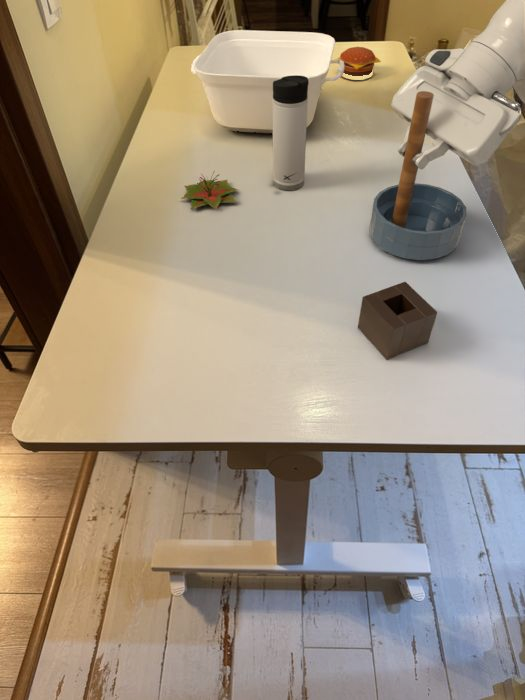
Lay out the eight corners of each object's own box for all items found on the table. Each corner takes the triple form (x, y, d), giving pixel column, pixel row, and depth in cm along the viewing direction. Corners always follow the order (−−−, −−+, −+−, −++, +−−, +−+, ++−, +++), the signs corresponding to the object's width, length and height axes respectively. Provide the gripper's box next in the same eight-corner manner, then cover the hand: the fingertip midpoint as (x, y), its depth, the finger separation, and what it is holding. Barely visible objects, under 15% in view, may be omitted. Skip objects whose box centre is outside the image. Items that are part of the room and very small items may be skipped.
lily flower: (175, 186, 104) (172, 164, 101) (233, 177, 106) (232, 156, 103) (184, 218, 96) (181, 196, 93) (247, 208, 98) (245, 186, 95)
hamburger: (355, 66, 146) (358, 40, 141) (380, 76, 141) (384, 49, 136) (330, 74, 142) (333, 47, 138) (355, 84, 137) (358, 57, 132)
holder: (398, 311, 78) (405, 281, 74) (428, 342, 74) (437, 312, 69) (357, 327, 76) (362, 296, 72) (386, 360, 72) (393, 329, 67)
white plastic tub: (343, 98, 131) (349, 33, 120) (334, 151, 112) (340, 80, 102) (213, 92, 136) (207, 28, 125) (183, 142, 117) (173, 72, 106)
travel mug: (291, 195, 101) (294, 87, 86) (266, 183, 104) (264, 78, 89) (311, 182, 104) (317, 76, 89) (286, 171, 107) (288, 67, 92)
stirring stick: (402, 222, 90) (430, 90, 74) (406, 230, 89) (436, 97, 72) (389, 223, 90) (414, 91, 74) (392, 231, 88) (419, 98, 72)
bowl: (440, 209, 96) (448, 180, 92) (470, 259, 86) (481, 229, 82) (360, 216, 96) (364, 186, 91) (381, 267, 85) (387, 236, 81)
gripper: (536, 121, 71) (460, 201, 76) (441, 72, 84) (381, 143, 89) (522, 94, 67) (443, 181, 71) (424, 46, 80) (362, 123, 84)
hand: (408, 160), depth 80 cm, fingers closed on stirring stick, 2 cm apart
